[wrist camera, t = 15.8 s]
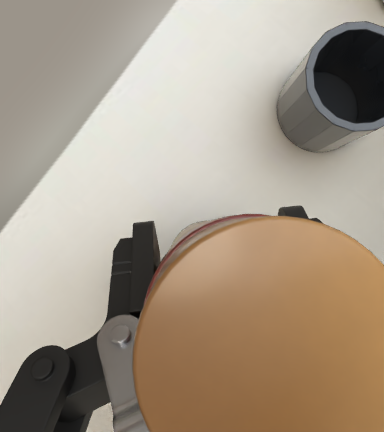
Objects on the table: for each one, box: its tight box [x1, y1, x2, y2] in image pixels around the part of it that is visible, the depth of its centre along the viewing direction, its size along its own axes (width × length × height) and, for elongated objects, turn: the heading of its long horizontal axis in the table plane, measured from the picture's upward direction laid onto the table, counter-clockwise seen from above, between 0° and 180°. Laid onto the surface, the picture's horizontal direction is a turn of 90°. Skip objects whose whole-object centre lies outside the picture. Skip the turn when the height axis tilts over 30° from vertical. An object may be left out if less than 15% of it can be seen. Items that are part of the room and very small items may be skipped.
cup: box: [277, 21, 384, 152], centre depth 24 cm, size 7×7×6 cm
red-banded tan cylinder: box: [132, 214, 384, 432], centre depth 13 cm, size 5×5×15 cm
